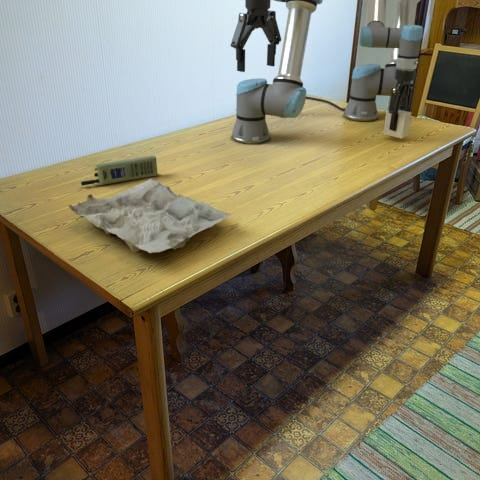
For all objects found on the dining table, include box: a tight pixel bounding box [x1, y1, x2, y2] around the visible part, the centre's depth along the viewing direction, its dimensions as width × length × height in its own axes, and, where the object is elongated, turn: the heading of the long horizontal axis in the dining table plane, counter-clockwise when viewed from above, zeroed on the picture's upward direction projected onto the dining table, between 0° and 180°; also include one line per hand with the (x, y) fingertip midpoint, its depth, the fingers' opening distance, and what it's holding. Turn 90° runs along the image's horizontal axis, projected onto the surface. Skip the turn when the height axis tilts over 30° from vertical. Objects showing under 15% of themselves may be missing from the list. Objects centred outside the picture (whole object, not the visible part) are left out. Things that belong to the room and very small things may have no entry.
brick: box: [382, 109, 412, 139], centre depth 204 cm, size 5×8×10 cm, turn 45°
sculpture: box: [68, 178, 232, 254], centre depth 138 cm, size 38×6×30 cm
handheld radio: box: [80, 155, 159, 187], centre depth 164 cm, size 7×3×25 cm
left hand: (256, 68), depth 161 cm, fingers open, 13 cm apart
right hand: (396, 128), depth 205 cm, fingers closed on brick, 5 cm apart
